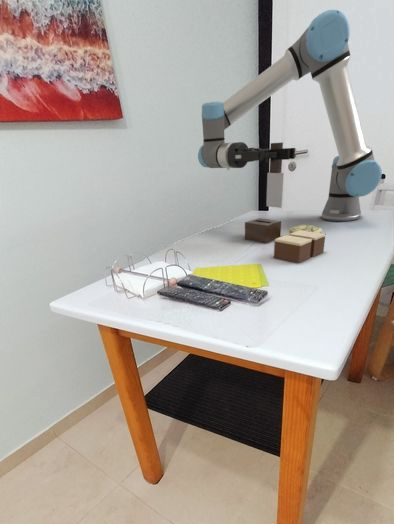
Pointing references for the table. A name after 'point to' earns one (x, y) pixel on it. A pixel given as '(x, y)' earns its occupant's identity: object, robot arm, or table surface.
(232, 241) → the table surface
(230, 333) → the table surface
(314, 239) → the cake
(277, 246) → the cake slice
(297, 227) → the decorated donut
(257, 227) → the knife block
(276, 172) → the knife
